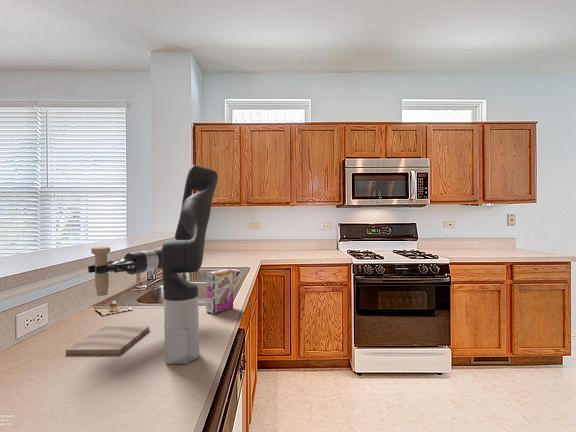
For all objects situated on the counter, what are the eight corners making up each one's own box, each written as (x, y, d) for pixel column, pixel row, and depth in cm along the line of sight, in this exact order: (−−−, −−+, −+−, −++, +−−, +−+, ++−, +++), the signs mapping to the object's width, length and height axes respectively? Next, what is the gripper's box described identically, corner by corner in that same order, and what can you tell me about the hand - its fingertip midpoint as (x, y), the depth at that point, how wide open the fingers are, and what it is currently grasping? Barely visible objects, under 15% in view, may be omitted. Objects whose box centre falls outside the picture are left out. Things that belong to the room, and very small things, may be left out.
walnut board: (119, 354, 101) (119, 349, 101) (65, 354, 101) (65, 349, 101) (149, 330, 121) (149, 326, 121) (103, 330, 121) (103, 326, 121)
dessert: (94, 311, 147) (93, 300, 147) (124, 305, 155) (123, 295, 155) (101, 317, 138) (101, 305, 138) (133, 311, 146) (132, 300, 146)
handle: (105, 292, 114) (103, 246, 113) (115, 294, 110) (113, 247, 109) (89, 295, 110) (87, 248, 109) (99, 298, 106) (97, 249, 106)
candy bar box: (214, 314, 138) (213, 273, 138) (205, 312, 141) (205, 272, 141) (234, 308, 147) (233, 269, 147) (226, 306, 150) (225, 268, 150)
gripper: (128, 250, 125) (79, 256, 111) (154, 252, 118) (105, 259, 103) (129, 270, 125) (80, 279, 111) (155, 274, 118) (105, 284, 103)
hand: (92, 269), depth 107 cm, fingers closed on handle, 3 cm apart
